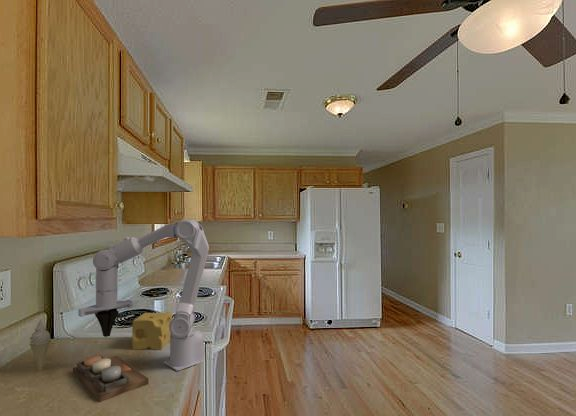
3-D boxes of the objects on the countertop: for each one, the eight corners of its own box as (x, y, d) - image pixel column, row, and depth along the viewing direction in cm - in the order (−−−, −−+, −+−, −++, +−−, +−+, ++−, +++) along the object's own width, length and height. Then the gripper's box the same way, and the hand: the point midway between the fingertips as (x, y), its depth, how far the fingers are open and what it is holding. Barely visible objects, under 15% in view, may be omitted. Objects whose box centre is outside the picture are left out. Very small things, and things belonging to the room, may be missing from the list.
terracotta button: (98, 361, 105) (98, 354, 105) (103, 365, 102) (103, 358, 102) (81, 366, 101) (81, 359, 101) (86, 370, 98) (87, 363, 98)
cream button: (107, 364, 100) (107, 357, 100) (113, 369, 97) (113, 361, 97) (90, 369, 97) (90, 361, 97) (95, 374, 94) (95, 366, 94)
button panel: (116, 360, 110) (116, 350, 110) (148, 384, 95) (148, 372, 95) (72, 373, 101) (72, 362, 101) (100, 401, 86) (100, 389, 86)
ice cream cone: (47, 365, 107) (47, 315, 107) (53, 369, 103) (53, 318, 104) (27, 370, 103) (27, 319, 103) (32, 375, 100) (33, 322, 100)
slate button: (116, 371, 95) (116, 364, 95) (123, 377, 92) (123, 369, 92) (99, 377, 92) (99, 369, 92) (105, 383, 89) (105, 375, 89)
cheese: (162, 350, 118) (162, 320, 118) (130, 350, 118) (130, 320, 119) (172, 339, 129) (172, 311, 129) (143, 339, 129) (143, 311, 129)
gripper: (126, 284, 113) (125, 326, 113) (75, 291, 103) (74, 338, 103) (135, 287, 108) (135, 332, 108) (83, 295, 98) (82, 344, 98)
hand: (106, 335), depth 105 cm, fingers closed
